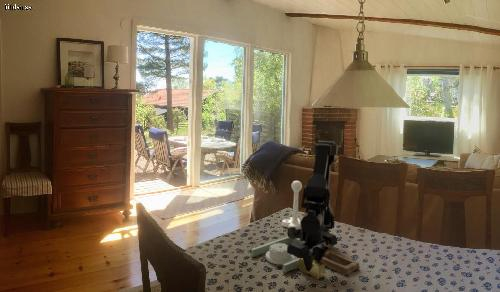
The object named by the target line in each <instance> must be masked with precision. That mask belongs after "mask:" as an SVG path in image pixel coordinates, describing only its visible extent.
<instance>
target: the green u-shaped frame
mask: <svg viewBox="0 0 500 292" xmlns="http://www.w3.org/2000/svg"><path fill="white" fill-rule="evenodd" d="M294 242H299V243H301V244H304V243H305V242H304V241H300V238H297V239H291V238H289V237H288V236H285V237H282V238H280V239H277V240H274V241H273V240H272V241H271V242H268V243H265V244H262V245H258V246H256V247H253V248H251V251H250V252H251V253H250V257H256V256H260V255H262V254H264V253H265V254H266V253H267V252H268V251H269V249H270V246H271V245H274V244H278V243H280V244H281V243H283V244H285V245H289V244H291V243H294ZM312 253H313V252H312ZM297 268H299V258H298V257H296V258H294V260H293V261H290V262H288V263H285V264H283V265H282V273H285V274H286V273H288V272H291V271H293V270H295V269H297Z"/></svg>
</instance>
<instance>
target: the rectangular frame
mask: <svg viewBox="0 0 500 292" xmlns="http://www.w3.org/2000/svg"><path fill="white" fill-rule="evenodd" d="M320 262H322V263H324V264H325V267H328V268H329V269H332V270H334V271H335V272H338V273H341V274H342V275H346V276H347V275H349V274H351V273H353V272H355V271H356V270H358V269H359V268H360V262H358V261H356V260H353V259H350V258H348V257H345V256H343V255H341V254H339V253H336V252H333V251H330V249H329V250H327V252H326V253H325V255H324V256H323V258H322V259H321V261H320Z"/></svg>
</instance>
